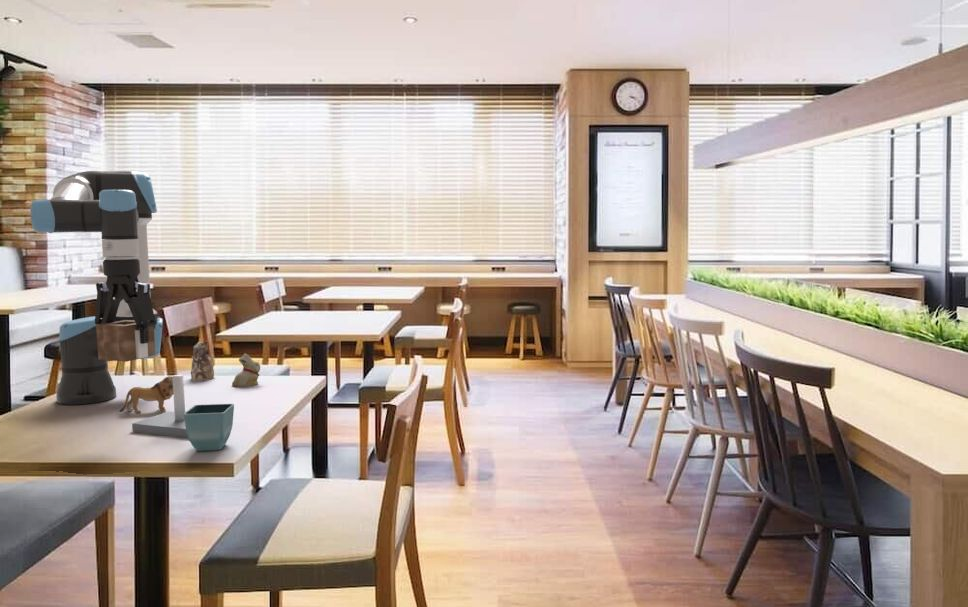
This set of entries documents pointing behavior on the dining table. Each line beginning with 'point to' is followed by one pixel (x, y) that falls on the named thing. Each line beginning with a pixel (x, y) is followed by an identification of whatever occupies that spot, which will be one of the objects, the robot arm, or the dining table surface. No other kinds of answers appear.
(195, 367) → the figurine
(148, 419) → the spindle stand
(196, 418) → the flower pot
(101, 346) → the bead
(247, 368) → the chocolate bunny
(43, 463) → the dining table surface
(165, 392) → the lion figurine
